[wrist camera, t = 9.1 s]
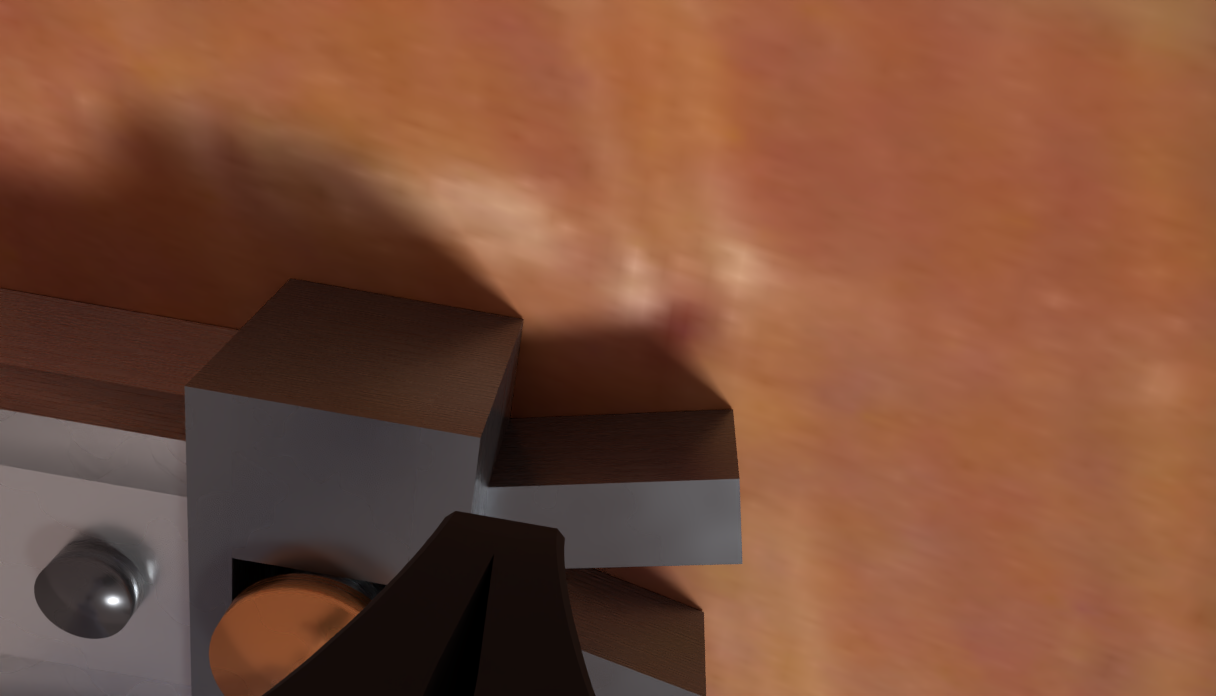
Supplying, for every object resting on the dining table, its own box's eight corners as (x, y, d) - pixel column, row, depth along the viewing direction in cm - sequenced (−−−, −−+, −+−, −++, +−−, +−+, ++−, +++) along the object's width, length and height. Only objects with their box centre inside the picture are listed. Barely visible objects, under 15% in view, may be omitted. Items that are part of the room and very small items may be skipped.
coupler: (105, 610, 26) (-20, 768, 21) (80, 241, 21) (-83, 339, 17) (678, 710, 26) (677, 887, 21) (768, 362, 21) (790, 492, 17)
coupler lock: (-39, 536, 25) (-203, 685, 20) (-75, 275, 22) (-278, 381, 17) (282, 592, 25) (191, 754, 20) (289, 338, 22) (183, 461, 17)
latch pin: (291, 576, 23) (209, 723, 19) (296, 449, 21) (208, 579, 17) (439, 602, 23) (388, 754, 19) (453, 477, 21) (401, 613, 18)
